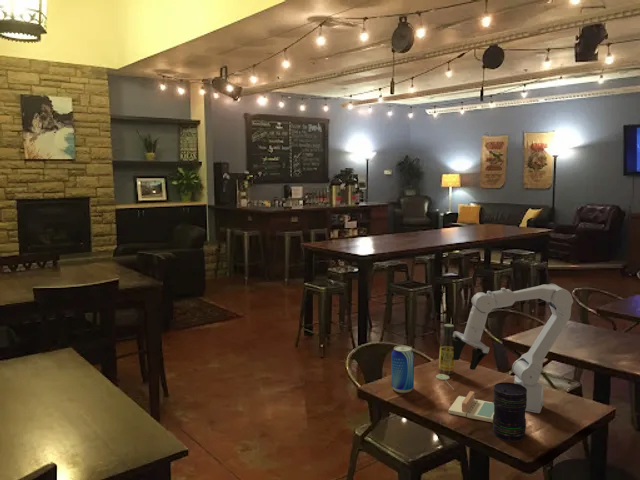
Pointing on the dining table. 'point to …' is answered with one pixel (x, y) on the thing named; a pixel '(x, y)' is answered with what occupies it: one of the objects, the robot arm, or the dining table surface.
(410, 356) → the beer can
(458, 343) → the robot arm
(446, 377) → the dial probe thermometer
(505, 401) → the storage jar
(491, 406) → the cream teal notepad
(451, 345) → the sauce bottle
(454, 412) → the cream and brown block
